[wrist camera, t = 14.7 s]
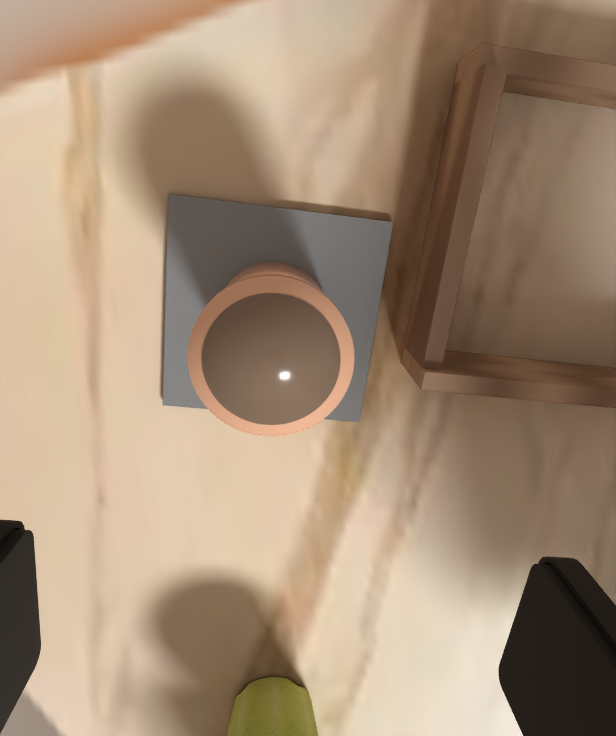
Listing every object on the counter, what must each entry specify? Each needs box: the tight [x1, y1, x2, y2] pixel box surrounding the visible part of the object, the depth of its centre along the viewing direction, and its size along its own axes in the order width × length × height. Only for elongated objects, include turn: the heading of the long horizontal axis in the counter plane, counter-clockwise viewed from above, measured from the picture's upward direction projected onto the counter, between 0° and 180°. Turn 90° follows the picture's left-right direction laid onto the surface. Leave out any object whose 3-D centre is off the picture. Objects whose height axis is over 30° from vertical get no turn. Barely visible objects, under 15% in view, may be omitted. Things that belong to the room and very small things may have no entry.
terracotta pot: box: [187, 261, 354, 436], centre depth 24 cm, size 7×7×8 cm
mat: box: [163, 194, 393, 422], centre depth 28 cm, size 12×12×1 cm
